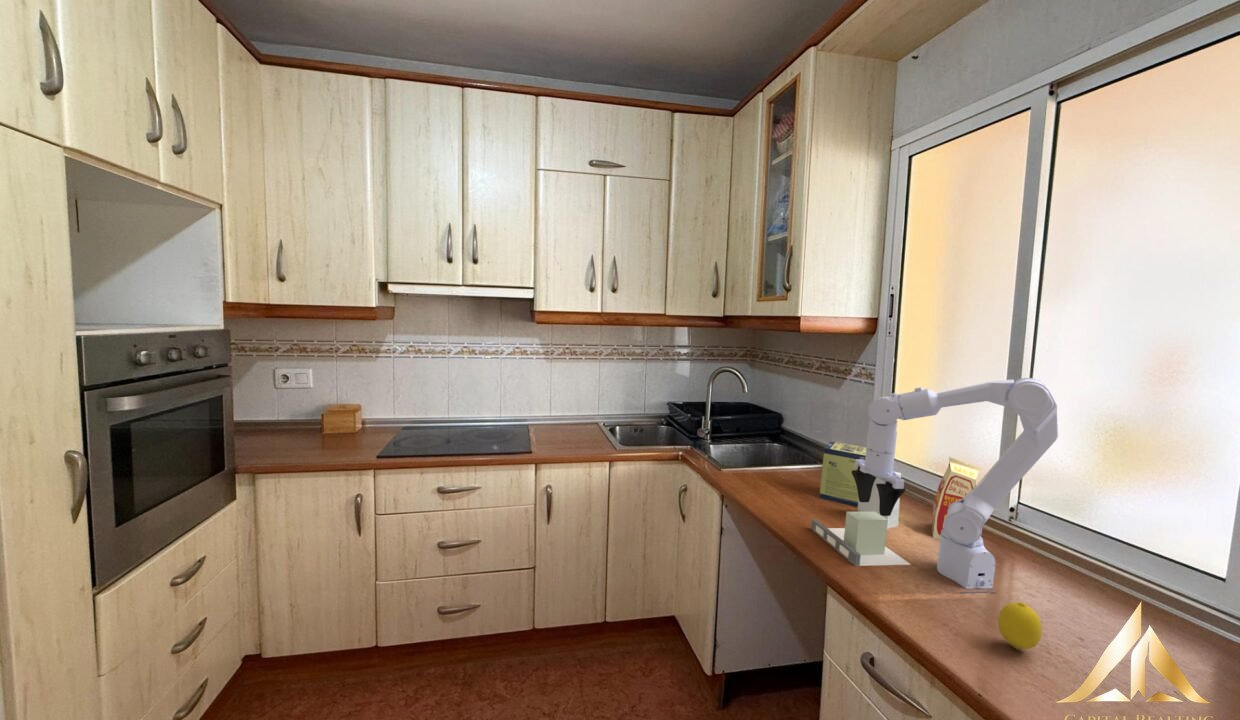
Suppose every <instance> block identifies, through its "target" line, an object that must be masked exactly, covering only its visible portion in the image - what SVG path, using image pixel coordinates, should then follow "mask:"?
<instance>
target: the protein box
mask: <svg viewBox="0 0 1240 720" xmlns="http://www.w3.org/2000/svg"><path fill="white" fill-rule="evenodd" d="M866 447H867V446H866ZM866 447H864V446H861V445H860V446H859V445H854V444H849V443H848V444H847V443H843V442H836V441H829V443H828V444H826V446H825V447H824V448H823V456H822V457H823V458H822V469H821V477H820V485H819V493H818V498H819V499H821V500H826V499H827V501H830V500H831V502H834V501H835V502H836V503H840V504H843V503H844V504H843V505H847V504H848V505H847V506H851V507H855V508H858V491H857V486H856V482H855V479H854V477H853V475H852V470H857V469H858V468H856V467H855V460H856V459H861V460H865V457H866Z"/></svg>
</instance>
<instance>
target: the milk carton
mask: <svg viewBox="0 0 1240 720" xmlns="http://www.w3.org/2000/svg"><path fill="white" fill-rule="evenodd" d="M948 459H949V460H948V461H949V463H948V466H947V468H946V470H945V472H944V474H943V476H942V478H941V480H940V482H939V485H938V487H937V492H936V495H935V498H934V503H933V506H932V519H931V531H932V532H931V533H932V537H933V538H934V539H939V540H940V537H941V530H942V529H944V526H943V524H944V520H945V518H946V516H947V510H948V507H949V506H950V505H951V504H952V503H954V502H956V501H959V500H961V499H963V498H964V497H965V496H966V494H968V493H969V492H970V491H972V490H973V489H974V487H975V486H976V485H977V478H978V474H979V472H980V471H981V470H982V469H983V468H984V467H982V466H979V465H975V464H971V463H966V462H964V461H962V460H959V459H957V458H954V457H952V456H949V457H948Z"/></svg>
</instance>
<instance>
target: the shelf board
mask: <svg viewBox="0 0 1240 720" xmlns="http://www.w3.org/2000/svg"><path fill="white" fill-rule="evenodd" d="M810 525H811V526H810V529H811V530H812V531H813V532H814V533H815V534H817V536H819V537H820V538H821V539H822V540H824V541H825V542H826V543H827V544H829V546H831V547H832V548H833V549H834V550H836V551H837V552H838V553H839V554H840V555H842V556H843V557H844V558H845V559H847V561H849V562H850V563H851V564H852V565H854V566H855V567H861V566H862V567H863V566H869V567H870V566H910V565H912V564H911V563H909V562H908V561H907V560H906V559H904V558H903V557H901V556H900V555H898V554H897V553H895V551H893V550H891V549H890V548H888V547H887V546H886V545H885V553H884V555H860V554H859V553H858V552H857V551H855V550H854V549H853V548H852V547H850V546H849V545H848V544H846V543H845V542H844V532H845V527H839V528H838V527H832V528H831V527H830V528H829V527H827V526H825V525H824V524H822V523H821V522H820V521H819V520H817V519H816V518H812V519H811V524H810Z"/></svg>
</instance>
